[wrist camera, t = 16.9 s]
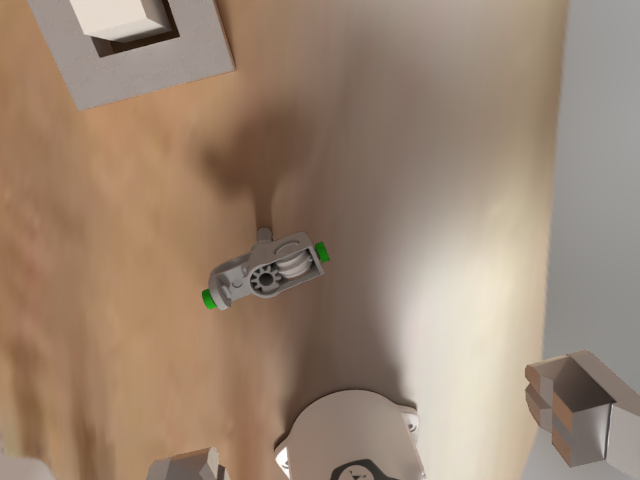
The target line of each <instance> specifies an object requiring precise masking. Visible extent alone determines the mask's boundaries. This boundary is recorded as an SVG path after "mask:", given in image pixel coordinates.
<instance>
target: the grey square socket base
mask: <svg viewBox="0 0 640 480" xmlns="http://www.w3.org/2000/svg"><path fill="white" fill-rule="evenodd" d="M27 2H28V4H29V6H30V8H31V10H32V13H33V15H34V17H35V19H36V21H37V23H38V25H39V28H40V30H41V32H42V34H43V36H44V38H45V40H46V43H47V45H48V47H49V49H50V51H51V53H52V55H53V58H54V60H55V62H56V64H57V66H58V68H59V70H60V73H61V75H62V77H63V79H64V81H65V83H66V85H67V88H68V90H69V92H70V94H71V96H72V98H73V100H74V103H75V105H76V107H77V109H78V111H81V110H86V109H91V108H96V107H100V106H104V105H108V104H112V103H115V102H119V101H123V100H127V99H131V98H134V97H138V96H142V95H146V94H149V93H153V92H157V91H161V90H164V89H168V88H172V87H176V86H179V85H183V84H187V83H191V82H194V81H198V80H202V79H206V78H209V77H213V76H217V75H221V74H224V73H228V72H232V71H236V67H235V63H234V60H233V57H232V53H231V50H230V47H229V44H228V40H227V37H226V34H225V30H224V27H223V24H222V20H221V17H220V14H219V10H218V7H217V4H216V1H215V0H168V2H169V5H170V8H171V11H172V14H173V17H174V20H175V22H176V25H177V28H178V31H179V34H180V37H178V38H174V39H170V40H167V41H163V42H159V43H155V44H151V45H148V46H144V47H140V48H136V49H132V50H128V51H125V52H121V53H117V54H115V53H114V50H113V48H112V45H111V43H110V40H107V39H102V38H98V37H94V36H89V35H85V34H84V32H83V30H82V28H81V25H80V23H79V21H78V19H77V16H76V14H75V12H74V9H73V7H72V5H71V2H70V0H27Z"/></svg>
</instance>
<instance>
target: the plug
mask: <svg viewBox="0 0 640 480" xmlns="http://www.w3.org/2000/svg"><path fill="white" fill-rule="evenodd" d="M70 2H71V5H72V7H73V9H74V12H75V14H76V16H77V19H78V21H79V23H80V25H81V28H82V30H83V32H84V34H85V35H89V36H94V37H98V38H102V39H107V40H111V41H116V42H120V43H127V42H131V41H135V40H139V39H142V38H146V37H150V36H154V35H158V34H162V33H165V32H169V31H172V28H171V25H170V23H169V20H168V17H167V14H166V11H165V8H164V5H163V3H162V0H70Z"/></svg>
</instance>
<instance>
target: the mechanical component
mask: <svg viewBox="0 0 640 480" xmlns="http://www.w3.org/2000/svg"><path fill="white" fill-rule="evenodd" d="M315 246H316V249H315V248H314V246H313V244H312V241H311V239H310V237H308V235H307V233H306V232H297V233H294V234H291V235H289V236H286V237H284V238H281V239H279V240H277V241H274V242H273V234H272V233H271V230H270V229H269V228H268V227H262V228H260V229H259V230H258V232H257V243H255V244H254V245H253V247H252V249H251V251H250V252H248V253H245V254H243V255H241V256H238V257H236V258H233V259H231V260H228V261H226V262H224V263H222V264H220V265H218V266H217V267H216V268H214V269H213V270H212V272H211V274H210V278H209V282H208V285H209V289H206V290H204V291H202V297H203V301H204V303H205V305H206V307H207V308H208V309H212V308H215V307H218V308H219V309H220V310H224V309H227V308H229V307H230V306H231V302H232V301H235V300H237V299H239V298H242V297H244V296H247V295H249V294H254V295H255V296H257V297H260V298H271V297H274V296H276V295H278V294H279V293H280V292H282V291H284V290H287V289H289V288H292V287H294V286H297V285H299V284H301V283H304V282H306V281H309V280H311V279H314V278H316V277H318V276H321V275H323V274H324V271H323V267H322V264H321V262H320V259H321V261H322V263H324V262H326V261H329V260H330V259H329V256H328V254H327V251H326V249H325V246H324V244H323V242H320V243H318V244H315ZM310 267H311V268H310ZM309 268H310V270H309V271H308V272H307V273H306V274H305V275H303V276H302V277H300V278H297V279H293V280H288V279H287V278H292V277H297V276H299V275H301V274H303V273H304V272H305V271H307V270H308V269H309Z"/></svg>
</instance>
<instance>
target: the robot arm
mask: <svg viewBox="0 0 640 480" xmlns="http://www.w3.org/2000/svg"><path fill="white" fill-rule="evenodd" d="M525 377H526V378H527V380H528V381H529V382H530V384H529V385H528V387H527V388H526V389H525V392H526V401H527V404H528V407H529V410H530V412H531V414H532V416H533V418H534V419H535V421H536V422H537V424H538V425H539V426H540V428H542V429H544V430H546V431H548V432H550V433H552V444H553V445H554V447H555V448H556V449H557V451H558V452H559V453H560V455H561V456H562V458H563V459H564V460H565V462H566V463H567V464H568V465H569V467H570V468H571V467H575V466H579V465H584V464H588V463H592V462H597V461H601V460H606V462H608V463H609V464H611V465H613V466H614V467H616V468H617V469H619V470H620V471H622V472H624V473H626V474H627V475H629V476H630V477H632V478H633V479H635V480H640V396H639V395H638V394H637V393H636V392H635V391H634V390H633V389H631V388H630V387H629V386H628V385H627V384H626V383H625V382H624V381H623V380H621V379H620V378H619V377H618V376H617V375H616V374H615V373H614V372H613V371H611V370H610V369H609V368H608V367H607V366H606V365H605V364H604V363H602V362H601V361H600V360H599V359H598V358H597V357H595V355H594V354H592V353H591V352H589V351H587V350H582V351H578V352H574V353H570V354H567V355H562V356H558V357H555V358H551V359H548V360H544V361H540V362H536V363H533V364H529V365H527V366H526V368H525ZM418 429H419V417H418V414H417V411H416V410H415V409H414V408H411V407H407V406H402V405H397V404H395V403H393V402H391V401H390V400H388V399H387V398H385V397H383V396H381V395H379V394H377V393H374V392H370V391H364V390H347V391H341V392H336V393H333V394H330V395H327V396H325V397H323V398H321V399H319V400H317V401H315V402H314V403H312V404H311V405H309V406H308V407H307V408H306V409H305V410H304V411H303V412H302V413H301V414H300V415H299V416H298V418H297V419H296V421H295V423H294V424H293V427H292V429H291V432H290V434H289V435H288V437H287V438H286V439H285V440H284V441H283V442H282V443H281V444H280V445H279V446H278V447H277V448H276V449H275V452H274V454H275V460H276V462H277V464H278V465H279V466H280V467H281V469H282V470H283V471H284V473H285V474H286V475H287V477H288V478H289V479H290V480H426V475H425V472H424V468H423V465H422V462H421V459H420V457H419V454H418V451H417V444H418ZM146 480H230V478H229V475H228V472H227V470H226V468H225V467H223V466H221V465H219V454H218V452H217V450H216V449H215V447H210V448H206V449H202V450H197V451H193V452H189V453H184V454H180V455H176V456H172V457H168V458H164V459H160V460H156V461H154V462H153V464H152V465H151V466H150V468H149V472H148V475H147V478H146Z"/></svg>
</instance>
